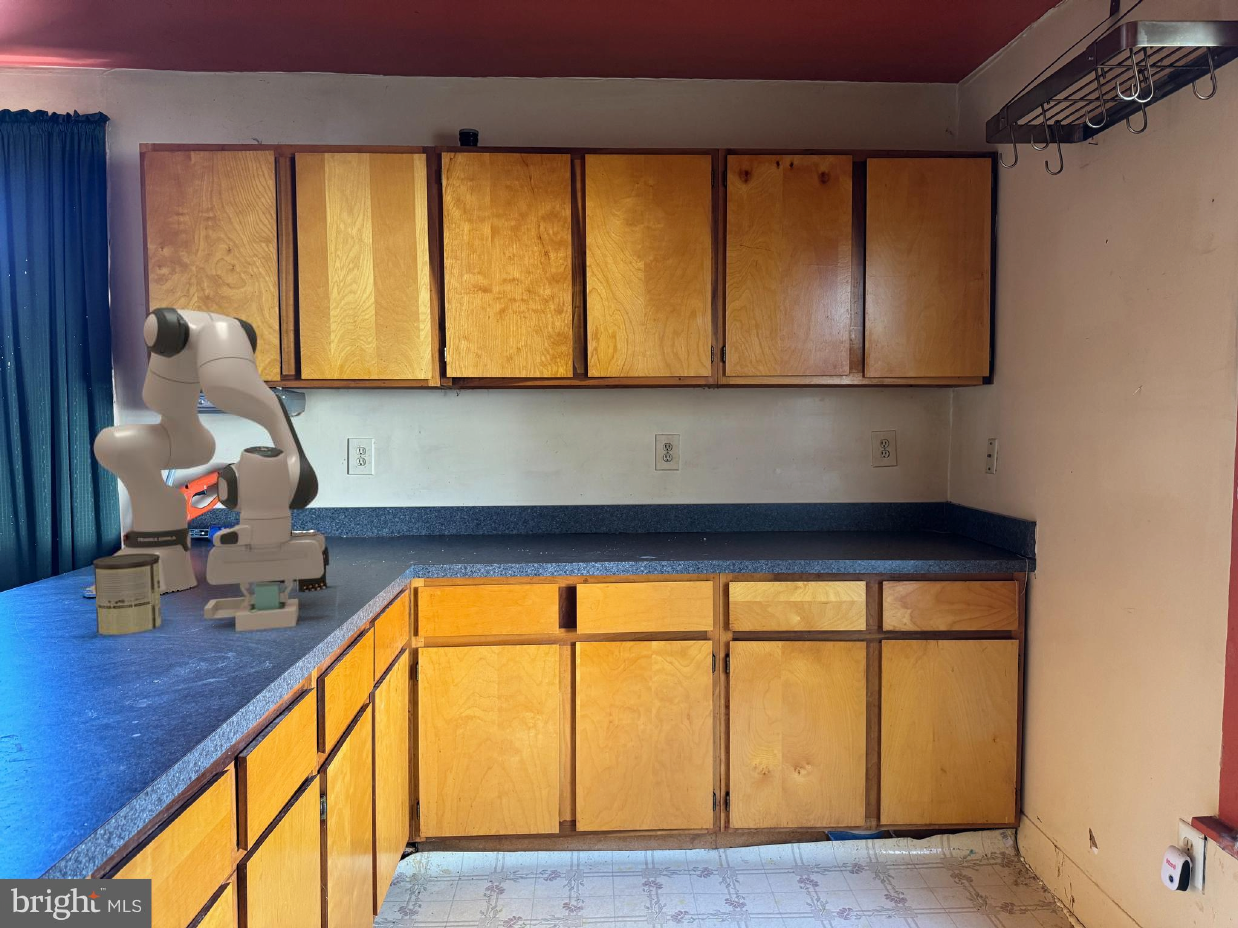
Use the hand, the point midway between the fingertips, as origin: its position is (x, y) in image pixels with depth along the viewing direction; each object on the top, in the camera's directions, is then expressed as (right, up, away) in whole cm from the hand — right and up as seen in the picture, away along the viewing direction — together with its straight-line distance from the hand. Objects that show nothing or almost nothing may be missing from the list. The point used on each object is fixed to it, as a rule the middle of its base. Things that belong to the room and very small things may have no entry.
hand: (267, 603), depth 143 cm
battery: (-3, -3, +29) cm, 29 cm away
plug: (0, -3, 0) cm, 3 cm away
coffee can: (-24, -5, -3) cm, 25 cm away
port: (0, -4, 0) cm, 4 cm away
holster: (-11, -4, +8) cm, 14 cm away
